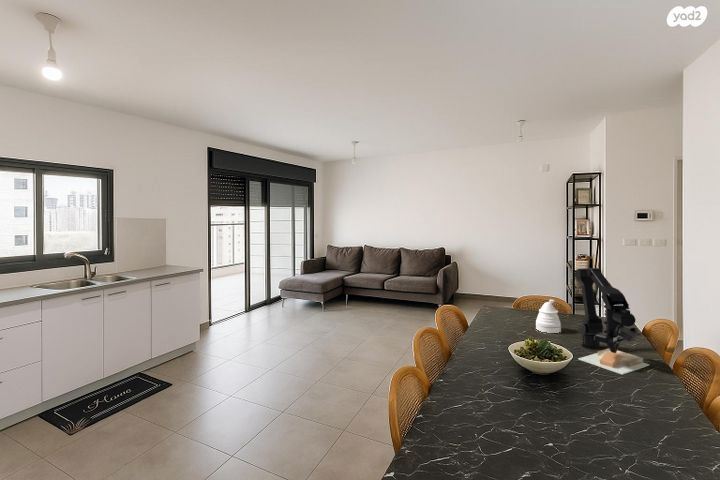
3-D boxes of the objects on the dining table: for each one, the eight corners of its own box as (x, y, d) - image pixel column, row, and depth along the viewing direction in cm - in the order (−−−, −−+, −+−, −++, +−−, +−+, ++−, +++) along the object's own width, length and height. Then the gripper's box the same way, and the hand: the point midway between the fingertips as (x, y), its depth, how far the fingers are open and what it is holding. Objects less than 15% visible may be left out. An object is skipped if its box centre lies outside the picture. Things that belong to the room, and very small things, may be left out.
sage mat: (578, 359, 166) (578, 358, 166) (604, 351, 174) (604, 350, 174) (622, 374, 149) (622, 373, 149) (649, 365, 157) (649, 364, 157)
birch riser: (597, 356, 168) (597, 351, 168) (609, 353, 172) (609, 348, 172) (630, 367, 155) (630, 361, 155) (642, 363, 159) (642, 357, 159)
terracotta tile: (600, 364, 159) (599, 360, 159) (608, 355, 163) (607, 351, 163) (613, 367, 155) (612, 363, 154) (620, 358, 159) (620, 354, 159)
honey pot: (561, 328, 211) (561, 298, 210) (560, 335, 200) (559, 303, 199) (537, 326, 218) (536, 296, 217) (534, 332, 207) (534, 301, 206)
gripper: (620, 327, 149) (620, 364, 150) (646, 320, 157) (646, 356, 158) (593, 321, 160) (593, 356, 160) (619, 315, 167) (619, 348, 168)
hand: (613, 354), depth 161 cm, fingers closed
